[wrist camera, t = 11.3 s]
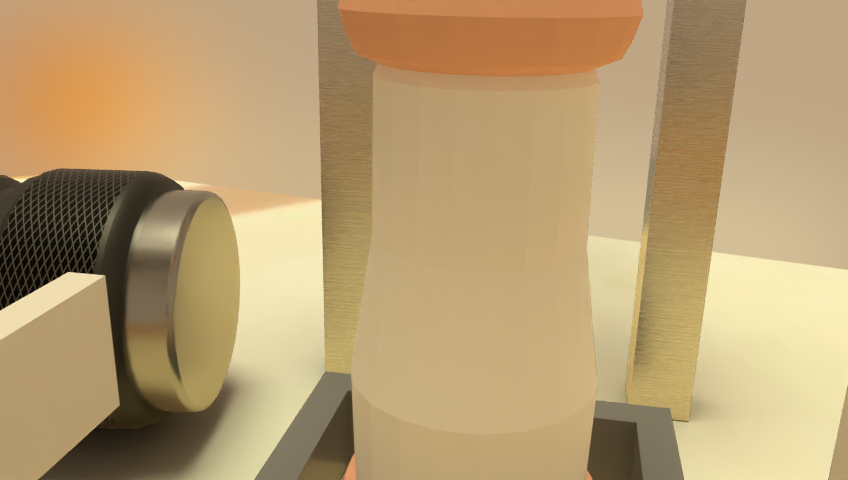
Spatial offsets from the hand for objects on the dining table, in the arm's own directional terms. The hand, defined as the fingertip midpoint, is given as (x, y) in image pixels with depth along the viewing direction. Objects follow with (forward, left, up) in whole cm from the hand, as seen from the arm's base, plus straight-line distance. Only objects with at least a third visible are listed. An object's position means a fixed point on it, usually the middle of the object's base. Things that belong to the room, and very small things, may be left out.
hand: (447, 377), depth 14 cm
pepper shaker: (-6, +3, -11) cm, 13 cm away
